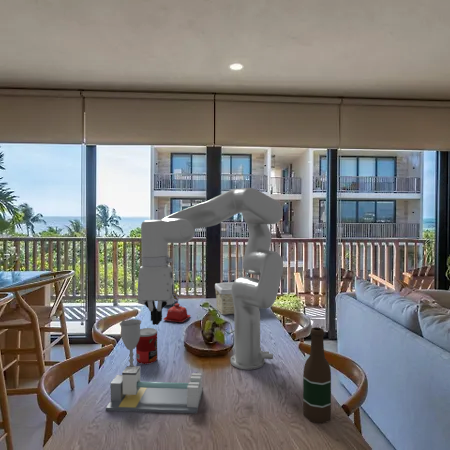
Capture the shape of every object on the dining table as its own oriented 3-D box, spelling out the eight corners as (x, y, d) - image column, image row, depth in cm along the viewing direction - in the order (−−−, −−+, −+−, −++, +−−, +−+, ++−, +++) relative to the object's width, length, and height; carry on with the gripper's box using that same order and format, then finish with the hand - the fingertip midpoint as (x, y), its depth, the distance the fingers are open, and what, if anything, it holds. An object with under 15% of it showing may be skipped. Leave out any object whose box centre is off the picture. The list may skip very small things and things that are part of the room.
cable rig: (202, 390, 104) (202, 370, 103) (196, 413, 92) (196, 391, 92) (121, 387, 106) (121, 368, 105) (105, 410, 94) (105, 388, 93)
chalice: (122, 381, 110) (121, 327, 109) (119, 372, 116) (117, 321, 115) (144, 375, 113) (143, 323, 112) (140, 367, 119) (139, 318, 118)
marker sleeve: (140, 387, 101) (140, 366, 101) (136, 394, 97) (135, 373, 97) (127, 387, 101) (127, 366, 101) (122, 394, 97) (122, 372, 97)
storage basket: (253, 304, 198) (253, 280, 197) (263, 312, 182) (262, 286, 181) (214, 308, 192) (214, 282, 191) (220, 316, 176) (220, 289, 176)
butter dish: (191, 317, 176) (191, 301, 176) (182, 324, 165) (182, 307, 165) (172, 315, 180) (172, 299, 179) (162, 322, 169) (161, 305, 168)
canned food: (152, 365, 121) (152, 335, 120) (132, 363, 122) (131, 334, 122) (160, 356, 128) (160, 328, 128) (141, 354, 130) (141, 327, 129)
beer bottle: (298, 407, 94) (298, 324, 93) (325, 406, 95) (325, 323, 94) (307, 425, 86) (308, 334, 85) (336, 423, 87) (337, 333, 86)
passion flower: (176, 315, 196) (178, 302, 189) (157, 312, 195) (159, 299, 187) (178, 300, 205) (181, 287, 198) (161, 298, 204) (162, 284, 196)
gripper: (182, 259, 101) (183, 319, 101) (134, 260, 102) (136, 318, 102) (177, 263, 93) (178, 328, 94) (125, 264, 94) (127, 327, 95)
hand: (156, 323), depth 98 cm, fingers closed
